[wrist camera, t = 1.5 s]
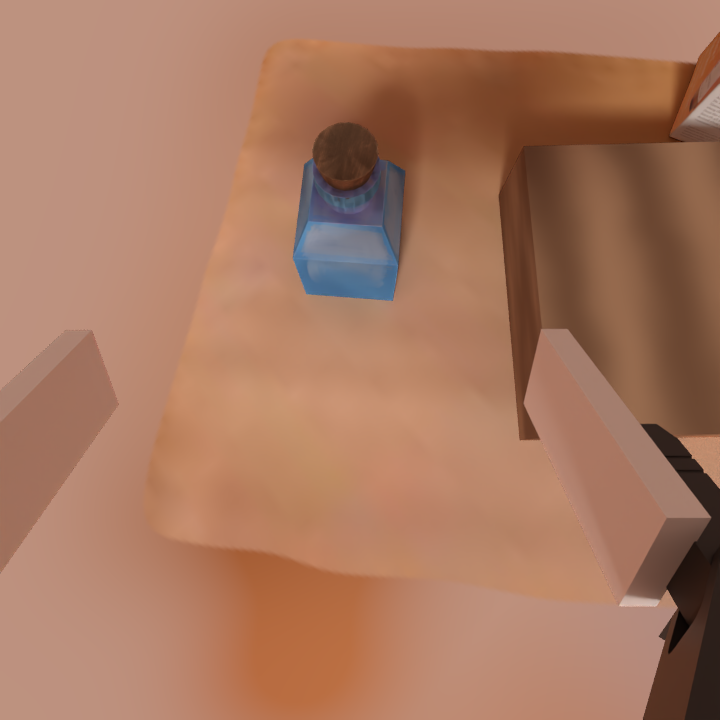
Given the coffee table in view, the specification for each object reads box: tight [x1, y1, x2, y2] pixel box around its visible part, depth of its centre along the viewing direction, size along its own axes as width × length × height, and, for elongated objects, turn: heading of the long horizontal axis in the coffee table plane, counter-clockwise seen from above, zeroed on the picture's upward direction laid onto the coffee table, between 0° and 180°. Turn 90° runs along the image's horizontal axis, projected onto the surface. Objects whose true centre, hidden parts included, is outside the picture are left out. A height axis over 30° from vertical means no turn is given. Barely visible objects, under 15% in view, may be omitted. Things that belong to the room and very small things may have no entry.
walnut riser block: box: [499, 141, 720, 440], centre depth 30 cm, size 16×18×6 cm
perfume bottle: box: [293, 122, 405, 301], centre depth 28 cm, size 6×6×12 cm
